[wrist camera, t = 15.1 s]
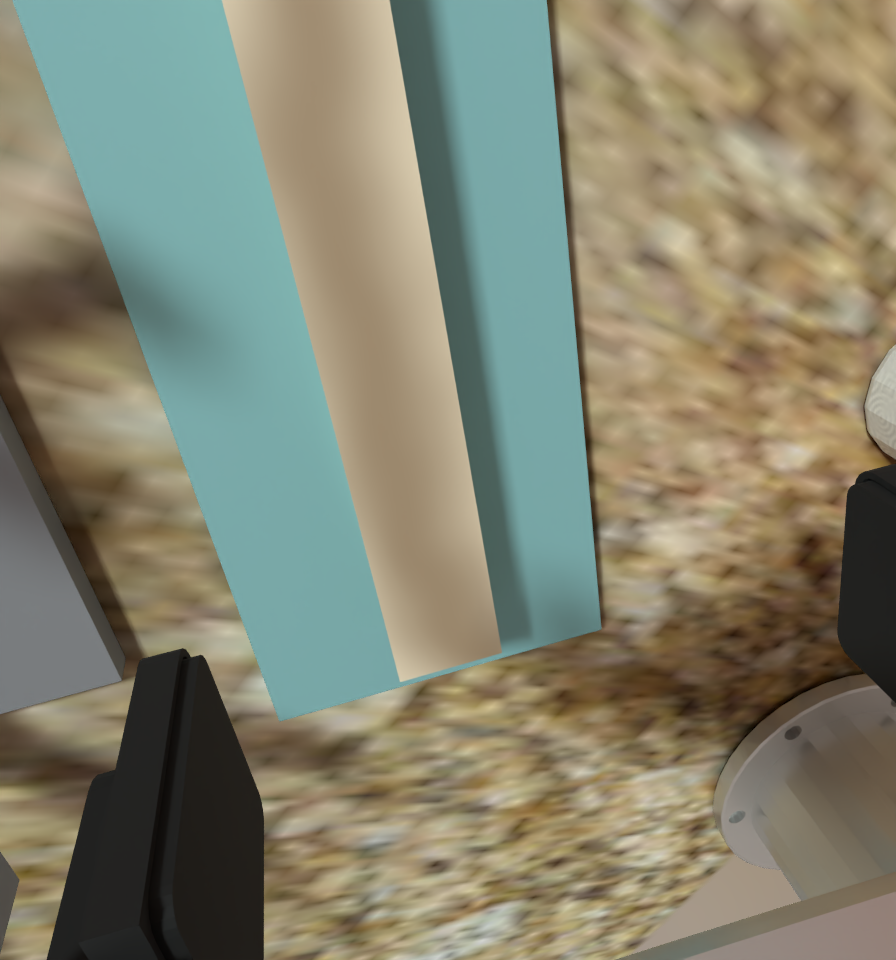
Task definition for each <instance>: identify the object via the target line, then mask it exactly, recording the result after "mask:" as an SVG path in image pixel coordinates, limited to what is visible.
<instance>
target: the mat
mask: <svg viewBox="0 0 896 960" xmlns="http://www.w3.org/2000/svg"><path fill="white" fill-rule="evenodd" d="M13 3H14V6H15V8H16V11H17V14H18V17H19V19H20V22H21V25H22V27H23V30H24V33H25V35H26V38H27V41H28V44H29V46H30V49H31V52H32V54H33V57H34V60H35V62H36V65H37V68H38V71H39V73H40V76H41V79H42V81H43V84H44V87H45V89H46V92H47V95H48V98H49V100H50V103H51V106H52V108H53V111H54V114H55V116H56V119H57V122H58V125H59V127H60V130H61V133H62V135H63V138H64V141H65V143H66V146H67V149H68V152H69V154H70V157H71V160H72V162H73V165H74V168H75V170H76V173H77V176H78V179H79V181H80V184H81V187H82V189H83V192H84V195H85V197H86V200H87V203H88V206H89V208H90V211H91V214H92V216H93V219H94V222H95V224H96V227H97V230H98V233H99V235H100V238H101V241H102V243H103V246H104V249H105V251H106V254H107V257H108V260H109V262H110V265H111V268H112V270H113V273H114V276H115V278H116V281H117V284H118V287H119V289H120V292H121V295H122V297H123V300H124V303H125V305H126V308H127V311H128V314H129V316H130V319H131V322H132V324H133V327H134V330H135V332H136V335H137V338H138V341H139V343H140V346H141V349H142V351H143V354H144V357H145V359H146V362H147V365H148V368H149V370H150V373H151V376H152V378H153V381H154V384H155V386H156V389H157V392H158V395H159V397H160V400H161V403H162V405H163V408H164V411H165V413H166V416H167V419H168V422H169V424H170V427H171V430H172V432H173V435H174V438H175V440H176V443H177V446H178V449H179V451H180V454H181V457H182V459H183V462H184V465H185V467H186V470H187V473H188V476H189V478H190V481H191V484H192V486H193V489H194V492H195V494H196V497H197V500H198V503H199V505H200V508H201V511H202V513H203V516H204V519H205V521H206V524H207V527H208V530H209V532H210V535H211V538H212V540H213V543H214V546H215V548H216V551H217V554H218V557H219V559H220V562H221V565H222V567H223V570H224V573H225V575H226V578H227V581H228V584H229V586H230V589H231V592H232V594H233V597H234V600H235V602H236V605H237V608H238V611H239V613H240V616H241V619H242V621H243V624H244V627H245V629H246V632H247V635H248V638H249V640H250V643H251V646H252V648H253V651H254V654H255V656H256V659H257V662H258V665H259V667H260V670H261V673H262V675H263V678H264V681H265V683H266V686H267V689H268V692H269V694H270V697H271V700H272V702H273V705H274V708H275V710H276V713H277V716H278V719H279V721H283V720H287V719H290V718H294V717H297V716H301V715H304V714H308V713H311V712H315V711H318V710H322V709H325V708H329V707H332V706H336V705H339V704H343V703H346V702H350V701H353V700H357V699H360V698H364V697H367V696H371V695H374V694H378V693H381V692H385V691H388V690H392V689H395V688H399V687H402V686H406V685H409V684H413V683H416V682H420V681H423V680H427V679H430V678H434V677H437V676H440V675H444V674H447V673H451V672H454V671H458V670H461V669H465V668H468V667H472V666H475V665H479V664H482V663H486V662H489V661H493V660H496V659H500V658H503V657H507V656H510V655H514V654H517V653H521V652H524V651H528V650H531V649H535V648H538V647H542V646H545V645H549V644H552V643H556V642H559V641H563V640H566V639H570V638H573V637H577V636H580V635H584V634H587V633H591V632H594V631H598V630H601V619H600V607H599V596H598V584H597V573H596V561H595V550H594V538H593V527H592V515H591V504H590V492H589V481H588V470H587V458H586V447H585V435H584V424H583V412H582V401H581V389H580V378H579V366H578V355H577V343H576V332H575V320H574V309H573V297H572V286H571V274H570V263H569V251H568V240H567V228H566V217H565V205H564V194H563V182H562V171H561V159H560V148H559V136H558V125H557V113H556V102H555V90H554V79H553V67H552V56H551V44H550V33H549V21H548V10H547V0H390V6H391V12H392V17H393V23H394V29H395V35H396V41H397V46H398V52H399V58H400V64H401V70H402V75H403V81H404V87H405V93H406V99H407V104H408V110H409V116H410V122H411V128H412V133H413V139H414V145H415V151H416V157H417V162H418V168H419V174H420V180H421V186H422V191H423V197H424V203H425V209H426V215H427V220H428V226H429V232H430V238H431V244H432V249H433V255H434V261H435V267H436V273H437V278H438V284H439V290H440V296H441V302H442V307H443V313H444V319H445V325H446V331H447V336H448V342H449V348H450V354H451V360H452V365H453V371H454V377H455V383H456V389H457V394H458V400H459V406H460V412H461V418H462V423H463V429H464V435H465V441H466V447H467V452H468V458H469V464H470V470H471V476H472V481H473V487H474V493H475V499H476V504H477V510H478V516H479V522H480V528H481V533H482V539H483V545H484V551H485V557H486V562H487V568H488V574H489V580H490V586H491V591H492V597H493V603H494V609H495V615H496V620H497V626H498V632H499V638H500V644H501V649H502V653H500V654H496V655H493V656H490V657H486V658H483V659H479V660H476V661H472V662H469V663H465V664H462V665H458V666H455V667H451V668H448V669H444V670H441V671H437V672H434V673H430V674H427V675H423V676H420V677H417V678H413V679H410V680H406V681H403V682H400V680H399V676H398V672H397V668H396V665H395V661H394V657H393V653H392V649H391V645H390V642H389V638H388V634H387V630H386V626H385V623H384V619H383V615H382V611H381V607H380V603H379V600H378V596H377V592H376V588H375V584H374V580H373V577H372V573H371V569H370V565H369V561H368V558H367V554H366V550H365V546H364V542H363V538H362V535H361V531H360V527H359V523H358V519H357V515H356V512H355V508H354V504H353V500H352V496H351V493H350V489H349V485H348V481H347V477H346V473H345V470H344V466H343V462H342V458H341V454H340V450H339V447H338V443H337V439H336V435H335V431H334V428H333V424H332V420H331V416H330V412H329V408H328V405H327V401H326V397H325V393H324V389H323V385H322V382H321V378H320V374H319V370H318V366H317V363H316V359H315V355H314V351H313V347H312V343H311V340H310V336H309V332H308V328H307V324H306V321H305V317H304V313H303V309H302V305H301V301H300V298H299V294H298V290H297V286H296V282H295V278H294V275H293V271H292V267H291V263H290V259H289V256H288V252H287V248H286V244H285V240H284V236H283V233H282V229H281V225H280V221H279V217H278V213H277V210H276V206H275V202H274V198H273V194H272V191H271V187H270V183H269V179H268V175H267V171H266V168H265V164H264V160H263V156H262V152H261V148H260V145H259V141H258V137H257V133H256V129H255V126H254V122H253V118H252V114H251V110H250V106H249V103H248V99H247V95H246V91H245V87H244V83H243V80H242V76H241V72H240V68H239V64H238V61H237V57H236V53H235V49H234V45H233V41H232V38H231V34H230V30H229V26H228V22H227V18H226V15H225V11H224V7H223V3H222V0H13Z"/></svg>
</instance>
